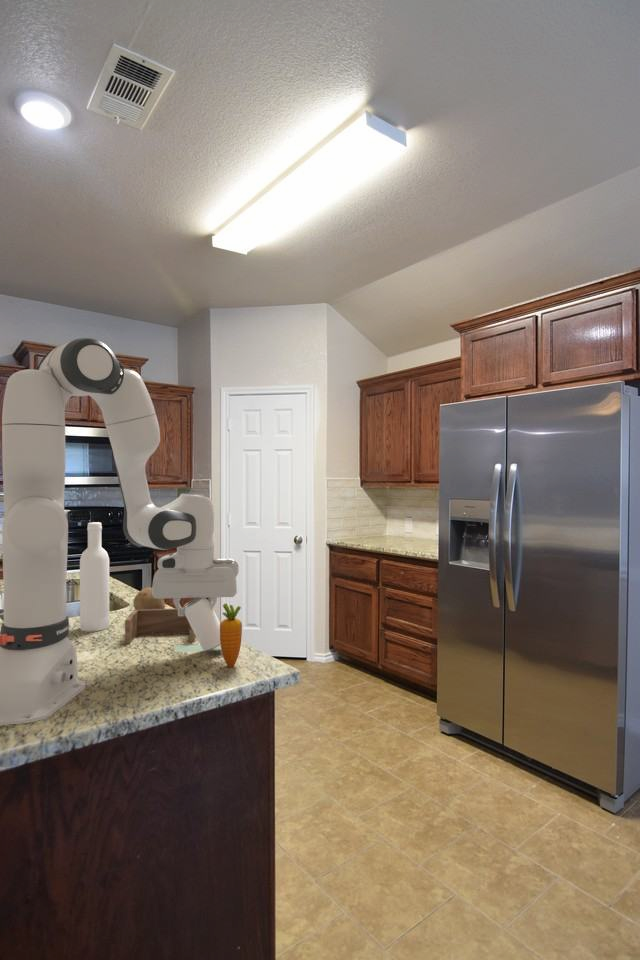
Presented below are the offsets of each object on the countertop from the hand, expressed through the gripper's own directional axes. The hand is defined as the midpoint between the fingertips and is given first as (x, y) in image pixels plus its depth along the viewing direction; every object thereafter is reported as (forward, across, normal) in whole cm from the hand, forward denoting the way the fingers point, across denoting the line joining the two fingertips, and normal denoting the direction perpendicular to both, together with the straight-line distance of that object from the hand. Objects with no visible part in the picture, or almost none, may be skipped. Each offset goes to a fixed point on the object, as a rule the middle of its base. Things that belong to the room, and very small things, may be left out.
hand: (195, 615), depth 131 cm
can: (+7, -5, 0) cm, 9 cm away
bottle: (+10, +31, -25) cm, 41 cm away
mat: (+10, 0, 0) cm, 10 cm away
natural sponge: (+10, +17, -31) cm, 37 cm away
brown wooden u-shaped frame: (+10, +10, -14) cm, 19 cm away
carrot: (+10, -9, +11) cm, 17 cm away
